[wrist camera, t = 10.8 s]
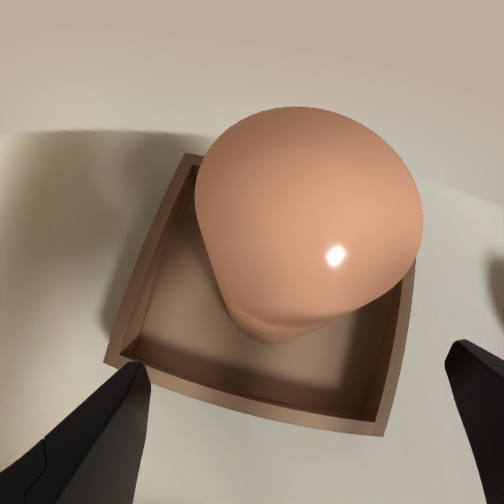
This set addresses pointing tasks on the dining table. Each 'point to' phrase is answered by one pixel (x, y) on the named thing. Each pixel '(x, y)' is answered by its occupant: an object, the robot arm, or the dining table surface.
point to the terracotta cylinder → (304, 220)
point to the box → (245, 349)
